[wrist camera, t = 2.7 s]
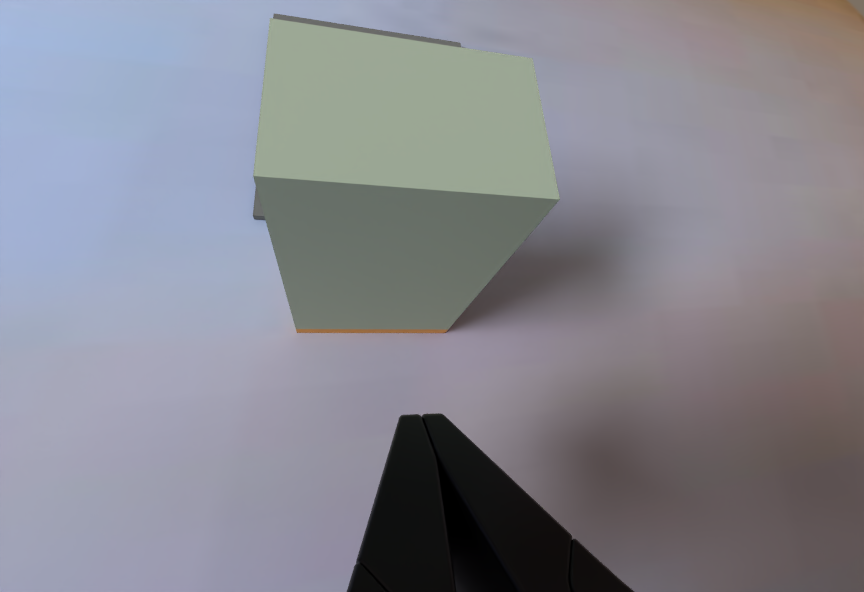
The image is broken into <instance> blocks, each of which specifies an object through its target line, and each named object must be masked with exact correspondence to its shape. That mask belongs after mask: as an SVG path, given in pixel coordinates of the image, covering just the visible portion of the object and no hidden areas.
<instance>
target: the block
mask: <svg viewBox="0 0 864 592" xmlns="http://www.w3.org/2000/svg"><path fill="white" fill-rule="evenodd" d="M253 177H254V180H255V184H256V188H257V191H258V195H259V198H260V202H261V206H262V209H263V213H264V216H265V220H266V223H267V227H268V231H269V234H270V238H271V241H272V245H273V249H274V252H275V256H276V259H277V263H278V266H279V270H280V274H281V277H282V281H283V284H284V288H285V292H286V295H287V299H288V302H289V306H290V309H291V313H292V317H293V320H294V324H295V327H296V331H297V333H446V331H447V330H448V329H449V328H450V327H451V326H452V324H453V323H454V322H455V321H456V320H457V319H458V317H459V316H460V315H461V314H462V313H463V312H464V310H465V309H466V308H467V307H468V306H469V305H470V303H471V302H472V301H473V300H474V299H475V298H476V296H477V295H478V294H479V293H480V292H481V291H482V289H483V288H484V287H485V286H486V285H487V284H488V283H489V281H490V280H491V279H492V278H493V277H494V276H495V274H496V273H497V272H498V271H499V270H500V269H501V267H502V266H503V265H504V264H505V263H506V262H507V260H508V259H509V258H510V257H511V256H512V255H513V253H514V252H515V251H516V250H517V249H518V248H519V246H520V245H521V244H522V243H523V242H524V241H525V239H526V238H527V237H528V236H529V235H530V234H531V232H532V231H533V230H534V229H535V228H536V227H537V225H538V224H539V223H540V222H541V221H542V220H543V218H544V217H545V216H546V215H547V214H548V213H549V211H550V210H551V209H552V208H553V207H554V206H555V204H556V203H557V202H558V201H559V200H560V198H559V193H558V188H557V183H556V178H555V172H554V167H553V162H552V157H551V152H550V147H549V142H548V136H547V131H546V126H545V121H544V116H543V111H542V105H541V100H540V95H539V90H538V85H537V80H536V75H535V69H534V64H533V59H532V58H526V57H519V56H513V55H506V54H500V53H493V52H487V51H480V50H474V49H467V48H461V47H454V46H448V45H441V44H435V43H428V42H422V41H415V40H409V39H402V38H396V37H389V36H383V35H376V34H370V33H363V32H357V31H350V30H344V29H337V28H331V27H324V26H318V25H311V24H305V23H298V22H292V21H285V20H279V19H272V18H270V24H269V33H268V42H267V52H266V61H265V71H264V80H263V89H262V99H261V108H260V117H259V127H258V136H257V146H256V155H255V164H254V174H253Z"/></svg>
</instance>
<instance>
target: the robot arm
mask: <svg viewBox="0 0 864 592" xmlns="http://www.w3.org/2000/svg"><path fill="white" fill-rule="evenodd" d="M347 592H634V591H633V590H632V589H630V588H629V587H628V586H627V585H626V584H624V583H623V582H622V581H621V580H620V579H619V578H618V577H617V576H615V575H614V574H613V573H612V572H611V571H610V570H609V569H608V568H607V567H606V566H604V565H603V564H602V563H601V562H600V561H599V560H598V559H597V558H596V557H594V556H593V555H592V554H591V553H590V552H589V551H588V550H587V549H586V548H585V547H584V546H583V545H582V544H581V543H580V542H578V541H577V540H576V539H572V536H571V534H570V533H569V532H568V531H567V530H565V529H564V528H563V527H562V526H561V525H560V524H559V523H558V522H557V521H556V520H555V519H554V518H553V517H552V516H551V515H550V514H548V513H547V512H546V511H545V510H544V509H543V508H542V507H541V506H540V505H539V504H538V503H537V502H536V501H535V500H534V499H533V498H531V497H530V496H529V495H528V494H527V493H526V492H525V491H524V490H523V489H522V488H521V487H520V486H519V485H518V484H517V483H516V482H514V481H513V480H512V479H511V478H510V477H509V476H508V475H507V474H506V473H505V472H504V471H503V470H502V469H501V468H500V467H499V466H497V465H496V464H495V463H494V462H493V461H492V460H491V459H490V458H489V457H488V456H487V455H486V454H485V453H484V452H483V451H482V450H480V449H479V448H478V447H477V446H476V445H475V444H474V443H473V442H472V441H471V440H470V439H469V438H468V437H467V436H466V435H465V434H463V433H462V432H461V431H460V430H459V429H458V428H457V427H456V426H455V425H454V424H453V423H452V422H451V421H450V420H449V419H448V418H446V417H445V416H444V415H443V414H439V413H438V414H424V415H422V417H421V416H420V415H418V414H413V415H401V416H400V417H399V420H398V424H397V427H396V430H395V434H394V437H393V440H392V444H391V447H390V450H389V454H388V457H387V460H386V464H385V467H384V470H383V474H382V477H381V480H380V484H379V487H378V490H377V494H376V497H375V500H374V504H373V507H372V511H371V514H370V517H369V521H368V524H367V527H366V531H365V534H364V537H363V541H362V544H361V547H360V551H359V554H358V557H357V561H356V565H355V566H354V570H353V573H352V576H351V580H350V583H349V586H348V590H347Z"/></svg>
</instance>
